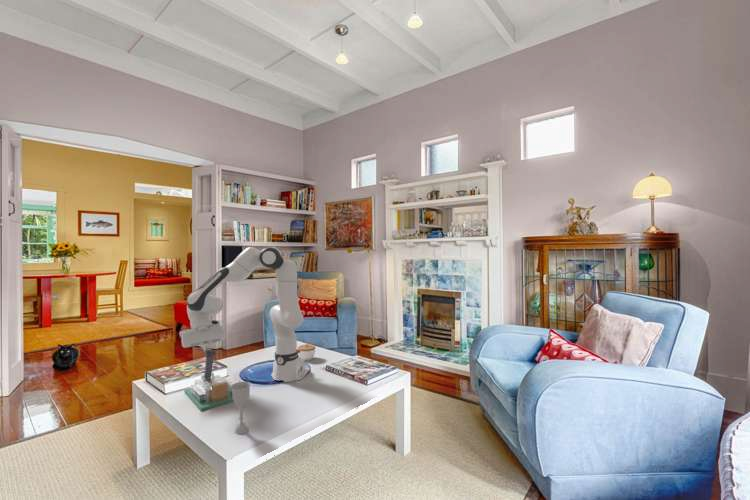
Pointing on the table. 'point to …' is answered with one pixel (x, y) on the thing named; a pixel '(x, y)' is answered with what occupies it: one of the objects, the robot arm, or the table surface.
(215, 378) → the heat sink
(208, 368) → the dark grey bar
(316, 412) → the table surface
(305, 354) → the lidded jar
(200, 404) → the circuit board
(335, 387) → the table surface
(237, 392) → the chalice
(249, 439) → the table surface
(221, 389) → the brown square block
